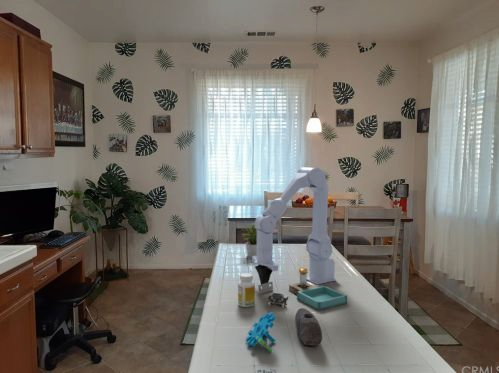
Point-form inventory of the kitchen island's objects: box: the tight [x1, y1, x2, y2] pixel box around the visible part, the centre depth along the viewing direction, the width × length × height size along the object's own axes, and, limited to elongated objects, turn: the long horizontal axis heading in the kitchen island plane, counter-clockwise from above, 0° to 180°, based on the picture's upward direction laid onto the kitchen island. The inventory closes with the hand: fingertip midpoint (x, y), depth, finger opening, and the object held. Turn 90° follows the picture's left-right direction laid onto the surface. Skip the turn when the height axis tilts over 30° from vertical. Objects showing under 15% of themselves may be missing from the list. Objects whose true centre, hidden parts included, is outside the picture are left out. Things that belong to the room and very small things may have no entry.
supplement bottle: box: [237, 272, 256, 308], centre depth 121 cm, size 5×5×10 cm
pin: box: [298, 267, 309, 288], centre depth 132 cm, size 3×3×8 cm
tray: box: [296, 285, 348, 312], centre depth 124 cm, size 12×11×2 cm
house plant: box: [240, 222, 257, 258], centre depth 181 cm, size 14×14×16 cm
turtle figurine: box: [267, 292, 288, 309], centre depth 118 cm, size 15×7×4 cm, turn 68°
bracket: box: [257, 281, 289, 299], centre depth 128 cm, size 7×10×3 cm, turn 39°
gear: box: [245, 311, 277, 353], centre depth 95 cm, size 11×6×10 cm
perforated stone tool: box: [294, 307, 323, 347], centre depth 99 cm, size 15×5×7 cm, turn 5°
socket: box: [288, 282, 317, 295], centre depth 132 cm, size 7×7×2 cm
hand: (264, 285), depth 136 cm, fingers closed
